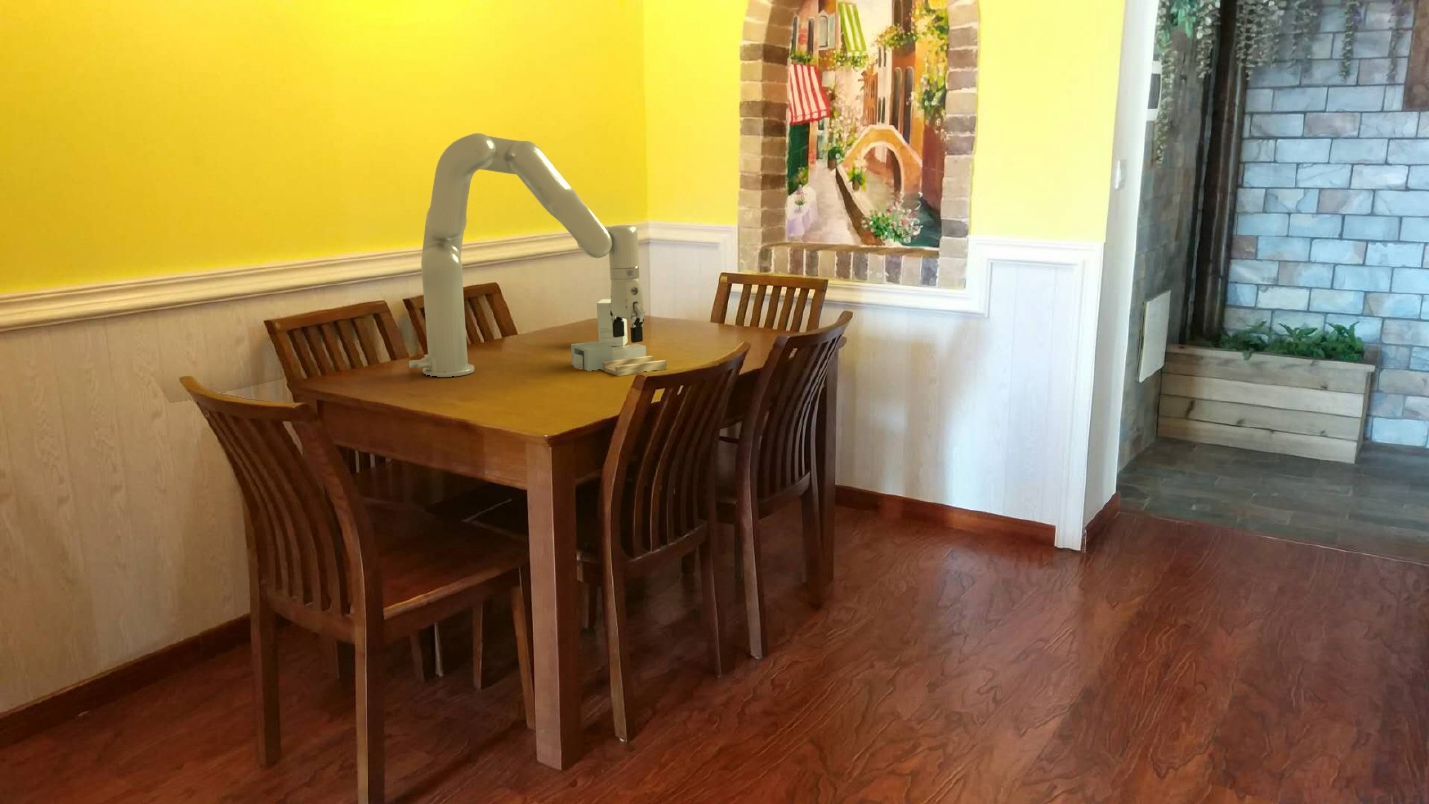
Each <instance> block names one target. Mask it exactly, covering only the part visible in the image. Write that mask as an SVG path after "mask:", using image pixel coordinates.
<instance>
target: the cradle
mask: <svg viewBox="0 0 1429 804" xmlns="http://www.w3.org/2000/svg"><path fill="white" fill-rule="evenodd" d="M664 369H665V370H667V369H668V365H667V360H665V359H663V360H661V359H660V360H654V356H653V355H646V356H645V357H637V358H630V359H622V360H614V361H607V362H603V369H602V371H603V370H604V372H606V373H609V374H611V375H614V376H616V377H620V376H628V375H629V376H630V375H636V374H643V373H645V372H643V371H647V372H646V373H651V372H652V371H651V370H658V371H663V370H664ZM665 370H664V371H665Z"/></svg>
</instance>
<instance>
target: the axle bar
mask: <svg viewBox="0 0 1429 804" xmlns="http://www.w3.org/2000/svg"><path fill="white" fill-rule="evenodd" d="M611 347H612V358H613V361H614V360H622V359H630V358H637V357H645V356H647V346H646V345H644V344H640V343H632V344H628V345H627V344H625V345H624V346H611ZM573 368H574V369H578V368H581V369H585V367H584V352H580V353H574V366H573ZM581 369H580V370H581Z"/></svg>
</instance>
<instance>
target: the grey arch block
mask: <svg viewBox="0 0 1429 804" xmlns="http://www.w3.org/2000/svg"><path fill="white" fill-rule="evenodd" d="M612 347H613V346H608V345H605V344H602V343H599V341H587V342H577V343H576V342H575V343H571V344H570V355H571V357H570V358H571V366H573V367H574V353H580V352H584V367H585V371H586V370H587V371H586V372H592V370H594V371H599V370H598V369H601V370H603V362H607V361H613V358H612Z"/></svg>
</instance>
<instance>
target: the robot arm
mask: <svg viewBox="0 0 1429 804" xmlns="http://www.w3.org/2000/svg"><path fill="white" fill-rule="evenodd" d="M478 170H481V171H482V170H483V171H490V172H495V173H500V174H501V173H504V174H509V175H510V174H511V175H516V176H517V177H518V178H519V179H520V180H521V182H522V183H523V184H524V185H525V186H526V188H527V189H528V190H529V191H530V193H532V195H533V196H534V197H535V199H536V200H537V202H539V203H540V204H541V206H542V207H543V209H545V210H546V211H547V212H548V213H549V214H550V215H551V216H552V217H553V218H554V219H556V220H557V221H558V222H559V223H560V224H561V225H562V226H563V227H564V228H565V229H566V230H567V231H568V232H569V234H570V235H571V236H572V237H573V239H575V242H576V243H577V246H578V248H579V249H580V251H581V252H583V253H584V254H586V255H587V256H589V257H591V258H594V259H599V258H604V257H605V256H607V255H608V259H609V260H608V261H609V264H608V265H609V279H610V281H611V282H610V299H611V303H610V304H609V309H610V315H611V317H612V318H611V321H612V326H613V337H622V336H624V335H625V333H624V321H622V320H623V318H624V319H627V320H628V321H629V323H630V325H631V327H630V341H631V343H632V344H637V343H642V342H643V341H644V337H643V335H644V333H643V326H644V322H645V316H646V311H645V307H644V296H643V290H642V283H641V280H640V263H639V262H640V260H639V241H638V240H639V237H638V236H639V235H638V229H637V227H636V226H635V225H630V224H619V225H618V224H617V225H612V226H604V225H603V224H602V223H601V222H600V221H599V219H598V218H597V217H596V216H595V214H594V213H593V212H592V210H591V209H590V208H589V206H587V204H586V203H584V201H583V200H582V199H581V197H580V196H579V195H578V193H577V192H576V191H575V190H574V188H573V187H572V186H571V185H570V183H568V181H567V180H566V179H565V177H564V176H563V175H562V174H561V173H560V171H559V170H558V168H556V166H555V164H553V162H552V161H550V159H549V158H548V157H547V155H546V154H545V153H544V152H543V150H542V149H541V148H540V147H539V146H538V145H537V144H536V143H534V142H532V141H529V140H514V139H509V138H503V137H497V136H492V135H487V134H485V133H480V132H479V133H478V132H476V133H472V134H468V135H465V136H463V137H461V138H458V139H456V140H455V141H453V142H452V143H451V144H449V146H447V147H446V149H444V151H443V152H442V153H441V155H440V157H439V160H438V162H437V164H436V168H435V174H434V178H433V179H434V180H433V186H432V190H431V197H430V198H431V200H430V205H429V208H428V210H427V212H426V219H425V225H424V233H423V243H422V244H423V245H422V252H421V261H420V262H421V263H420V265H421V266H420V269H421V280H422V291H423V307H424V314H425V315H424V317H425V330H426V345H427V354H424V355H423V356H424V357H422V358H421V359H412V360H408V366H409V368H410V369H422V374H423V373H424V374H426V375H425V376H427V375H430V376H429V377H432V376H437V377H436V378H452V376H454V377H460V376H465V375H469V374H472V373H474V372H475V365H473V364H470V363H468V360H469V359H468V349H467V348H468V346H467V332H466V318H465V317H466V316H465V314H466V313H465V301H464V299H465V298H464V297H465V296H464V276H463V275H464V273H463V263H462V259H461V257H462V248H463V240H464V233H465V232H464V231H465V230H466V227H467V222H468V221H467V210H468V203H469V202H468V201H469V195H470V187H471V181H472V179H473V177H474V174H475V173H477V171H478ZM424 374H423V375H424Z"/></svg>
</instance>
